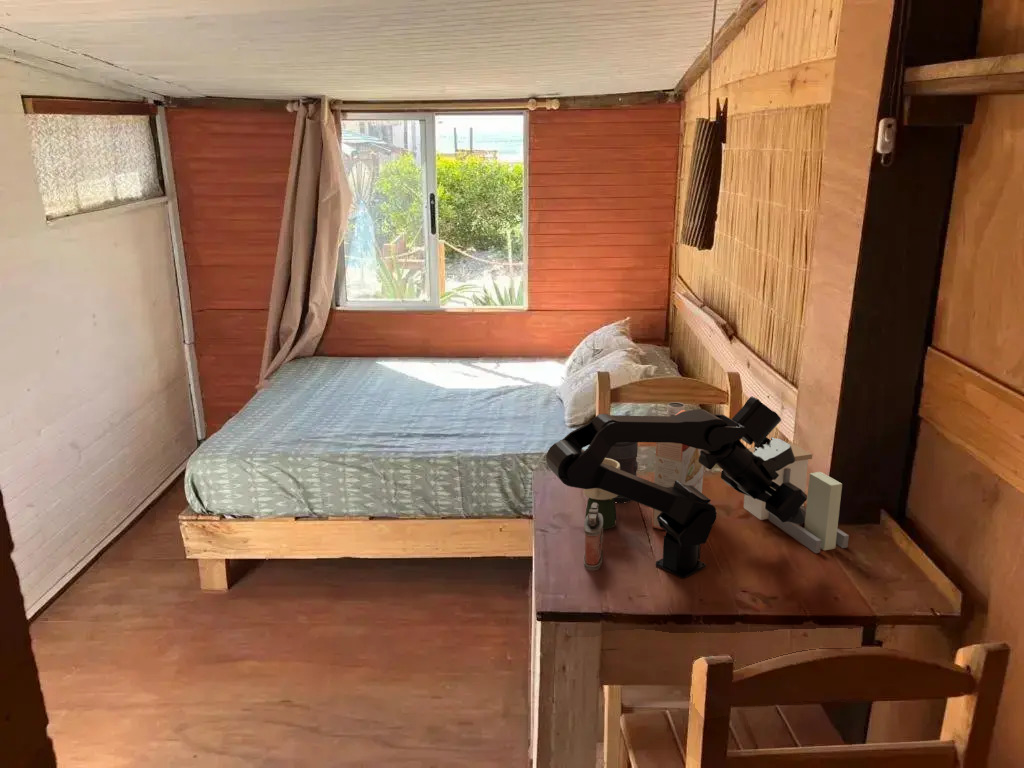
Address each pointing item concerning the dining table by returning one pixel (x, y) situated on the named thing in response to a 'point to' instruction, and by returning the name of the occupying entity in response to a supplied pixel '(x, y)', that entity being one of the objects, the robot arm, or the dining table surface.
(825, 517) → the rectangular block
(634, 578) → the dining table surface
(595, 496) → the character mug
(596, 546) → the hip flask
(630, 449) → the camera lens
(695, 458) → the cracker box
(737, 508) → the dining table surface
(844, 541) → the cabinet
